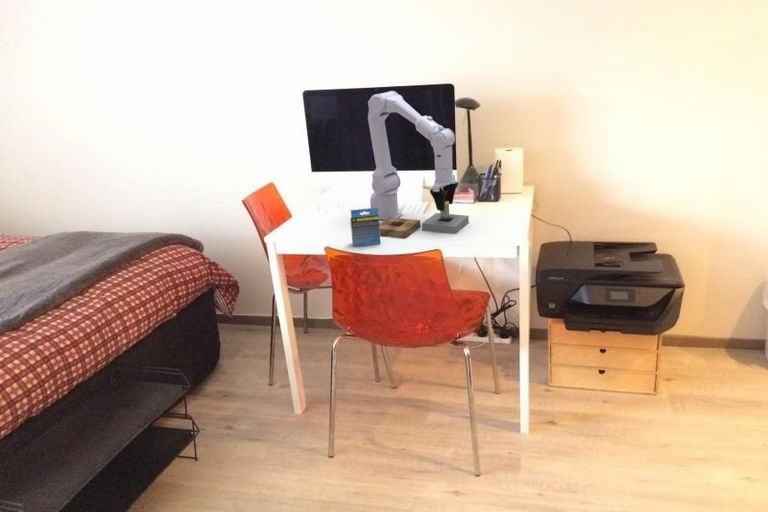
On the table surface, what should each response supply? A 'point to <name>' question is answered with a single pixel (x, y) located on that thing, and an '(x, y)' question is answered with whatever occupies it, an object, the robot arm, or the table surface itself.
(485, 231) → the table surface
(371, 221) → the label tape box
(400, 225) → the socket block
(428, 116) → the robot arm
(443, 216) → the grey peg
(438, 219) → the block
